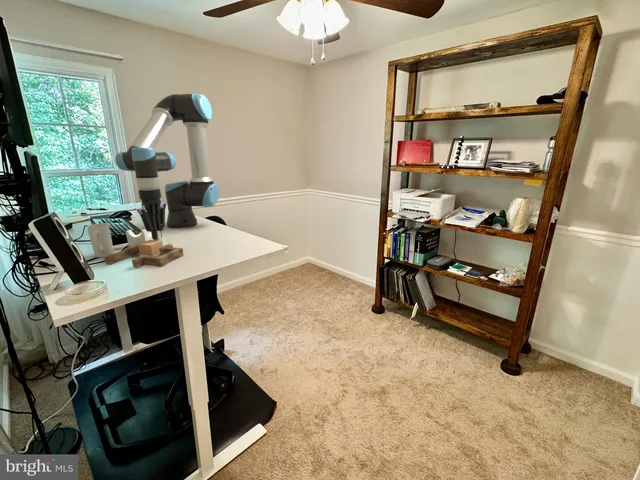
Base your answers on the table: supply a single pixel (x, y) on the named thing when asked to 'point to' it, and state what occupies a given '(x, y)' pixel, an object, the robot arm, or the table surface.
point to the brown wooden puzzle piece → (146, 256)
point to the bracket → (138, 237)
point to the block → (150, 247)
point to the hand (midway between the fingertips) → (158, 246)
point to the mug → (101, 239)
